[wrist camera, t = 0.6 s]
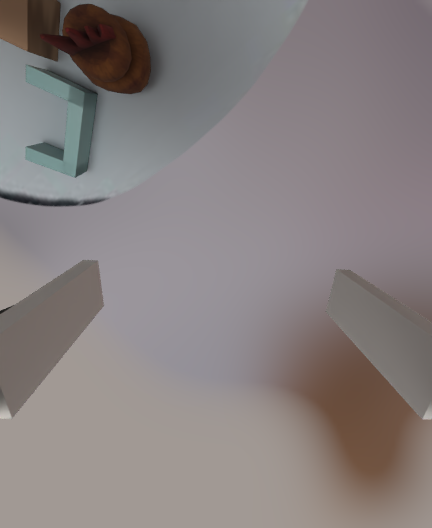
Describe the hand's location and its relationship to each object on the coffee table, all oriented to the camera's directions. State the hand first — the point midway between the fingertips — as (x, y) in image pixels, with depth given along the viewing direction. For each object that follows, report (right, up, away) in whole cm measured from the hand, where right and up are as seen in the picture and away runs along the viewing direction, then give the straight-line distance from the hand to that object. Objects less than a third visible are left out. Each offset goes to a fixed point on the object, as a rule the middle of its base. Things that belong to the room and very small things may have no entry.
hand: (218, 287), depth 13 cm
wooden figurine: (-11, +25, +14) cm, 30 cm away
